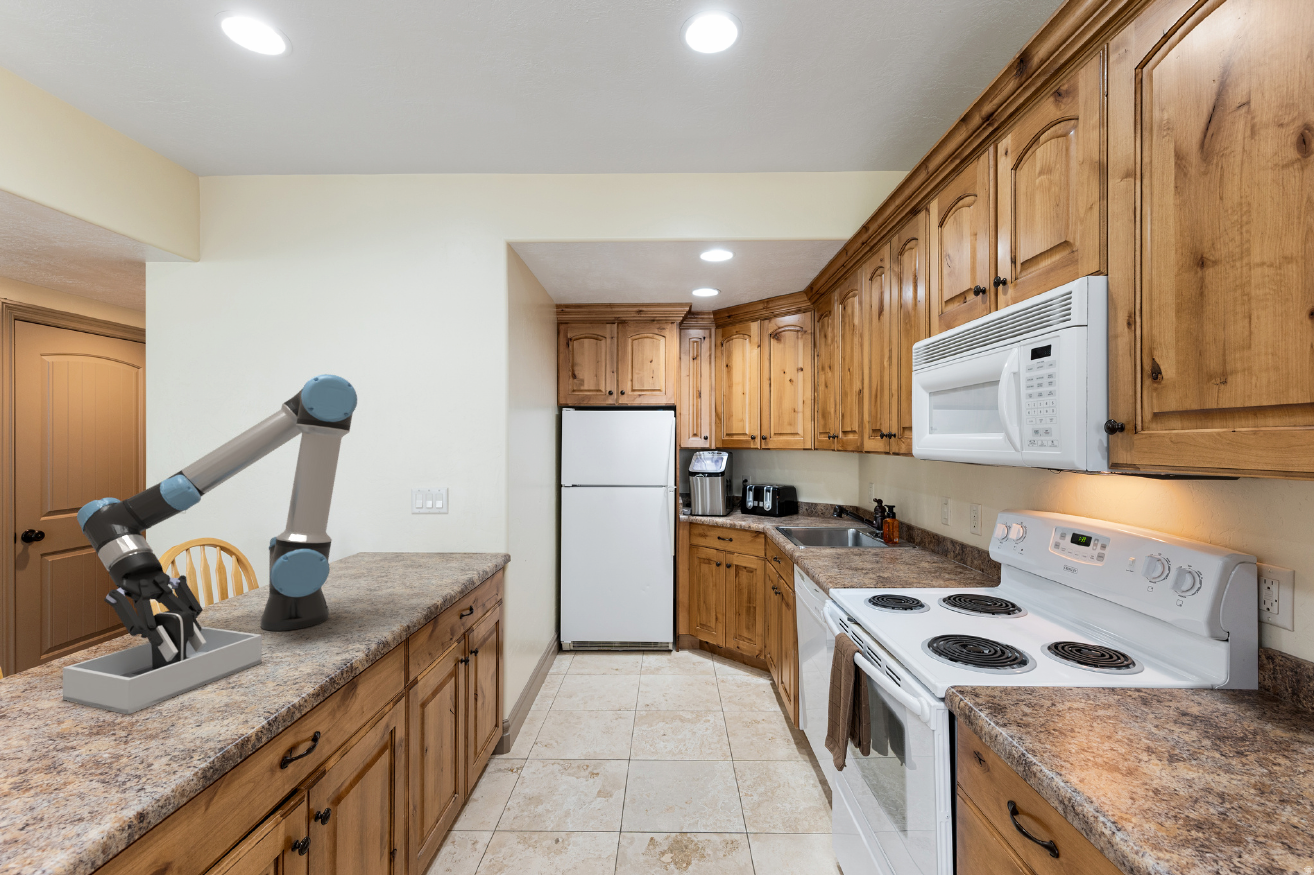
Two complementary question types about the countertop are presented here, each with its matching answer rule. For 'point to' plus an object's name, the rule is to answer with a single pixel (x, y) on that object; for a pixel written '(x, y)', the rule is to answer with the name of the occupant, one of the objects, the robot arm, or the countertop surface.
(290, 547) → the robot arm
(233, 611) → the countertop surface
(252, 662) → the bin
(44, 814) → the countertop surface
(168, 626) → the battery charger
